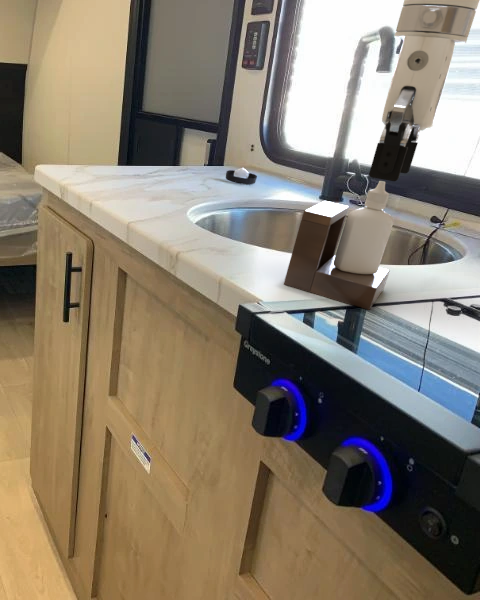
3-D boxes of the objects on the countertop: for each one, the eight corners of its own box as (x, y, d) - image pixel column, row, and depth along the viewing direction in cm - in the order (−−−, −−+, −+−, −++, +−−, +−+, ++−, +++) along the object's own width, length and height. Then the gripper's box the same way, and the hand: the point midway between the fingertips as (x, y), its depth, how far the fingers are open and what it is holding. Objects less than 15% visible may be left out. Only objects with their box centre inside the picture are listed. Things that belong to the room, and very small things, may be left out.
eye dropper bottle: (332, 261, 83) (358, 175, 79) (376, 271, 81) (405, 183, 77) (331, 269, 79) (359, 179, 75) (377, 279, 77) (407, 188, 73)
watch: (254, 183, 154) (258, 169, 153) (255, 186, 150) (258, 172, 149) (224, 178, 155) (227, 164, 154) (224, 181, 151) (227, 167, 150)
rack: (383, 289, 84) (407, 219, 80) (369, 310, 75) (395, 232, 71) (304, 267, 89) (324, 200, 85) (283, 284, 80) (303, 210, 77)
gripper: (466, 20, 60) (413, 189, 67) (473, 35, 74) (429, 174, 80) (386, 16, 64) (343, 176, 70) (407, 31, 78) (369, 164, 84)
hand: (389, 175), depth 75 cm, fingers open, 9 cm apart
